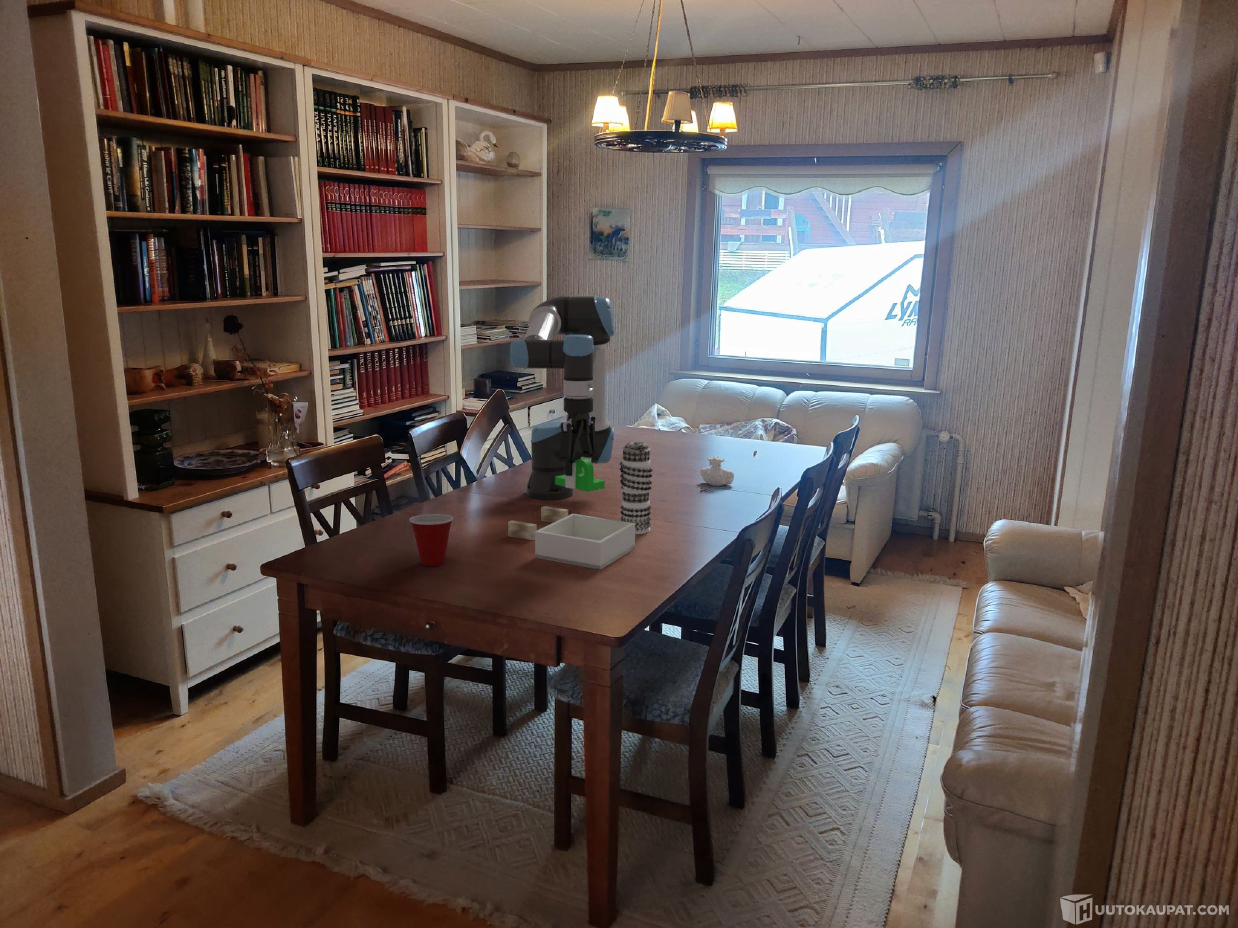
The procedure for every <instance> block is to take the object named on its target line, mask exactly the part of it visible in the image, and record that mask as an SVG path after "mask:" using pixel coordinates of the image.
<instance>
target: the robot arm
mask: <svg viewBox="0 0 1238 928" xmlns="http://www.w3.org/2000/svg"><path fill="white" fill-rule="evenodd" d="M614 317H615V316H614V310H613V305H612V302H611V300H610V299H609V298H608V297H606V296H605V297H604V296H603V297H601V296H595V295H593V296H588V295H587V296H563V295H562V296H556V297H552V298H548V299H547V300H545V301H543V302H541V303H540V304H538V305H537V306H535V308H533V309H532V311H531V313H530V315H529V316H528V328H527V330H526V332H525V335H524V336H523V337H524V338H519V339H518V338H517V339H513V340H512V341H511V342H510V349H509V351H510V352H509V353H510V354H509V355H510V357H509V358H510V364H511V367H512V368H514V369H524V370H526V369H533V370H534V369H542V370H543V369H545V370H547V369H549V370H550V369H554V370H555V369H556V370H557V369H558V370H559V369H563V389H562V390H563V395H564V396H565V397H564V398H563V412H565V413H566V414H567V419H566V421H551V422H550V421H549V422H545V423H540V424H538V425H536V426H534V427H533V428H532V430H531V434H530V435H531V437H530V438H531V439H530V443H531V444H530V445H531V447H530V448H531V473H530V475H529V478H528V482H527V485H526V496H528V497H530V498H532V499H537V500H560V499H566V498H567V499H568V498H570V497H571V496H573V495H574V490H576V489H575V488H576V463H574V462H575V461H576V460H579V459H583V458H586V459H588V460H590V461H591V463H592V465H593V464H595V465H598V464H608V463H609V462H610V461H611V459H612V452H613V449H614V439H615V433H616V432H615V428H614V427H612V426H611V422H610V420H608V418H606V346H607V345H608V344H610V342H611V337H614V336H615V334H616V328H615V318H614ZM554 336H564V338H563V339H554ZM582 472H583V474H584V469H583V467H582ZM562 475H565V487H564V486H560V485H556V484H555V477H557V476H562Z"/></svg>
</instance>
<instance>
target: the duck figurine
mask: <svg viewBox="0 0 1238 928" xmlns="http://www.w3.org/2000/svg"><path fill="white" fill-rule="evenodd" d="M725 460H726V459H725V458H720V457H719V456H715V455H714V456H713V457H710V456H709V457H708V458H707V461H708V462H709V464H708V465H709V467H703V468H701V469H700V470H699V471H700V476H701V477H702V480H703V481H704V482H705V483H706V484H708V485H709V486H713V487H721V486H724V485H725V486H727V485H732V484H733V481H734V479H735V473H734V472H733V471H732V470H729V469H726V468H722V463H724V462H725Z"/></svg>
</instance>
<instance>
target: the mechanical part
mask: <svg viewBox="0 0 1238 928" xmlns="http://www.w3.org/2000/svg"><path fill="white" fill-rule="evenodd" d="M574 463H576V488H575V489H574V490H578V491H580V492H585V493H591V492H594V491H599V490H602V489H605V482H606V481H605V480H603V479H598V478H595V473H594V472H595V470H594V465H593V463H591V461H590V460H588V459H586V458H583V459H579V460H576V461H575V462H574ZM582 467H583V469H584V474H583V472H582ZM555 484H556V485H560V486H564V487H565V475H562V476H557V477H555Z"/></svg>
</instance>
